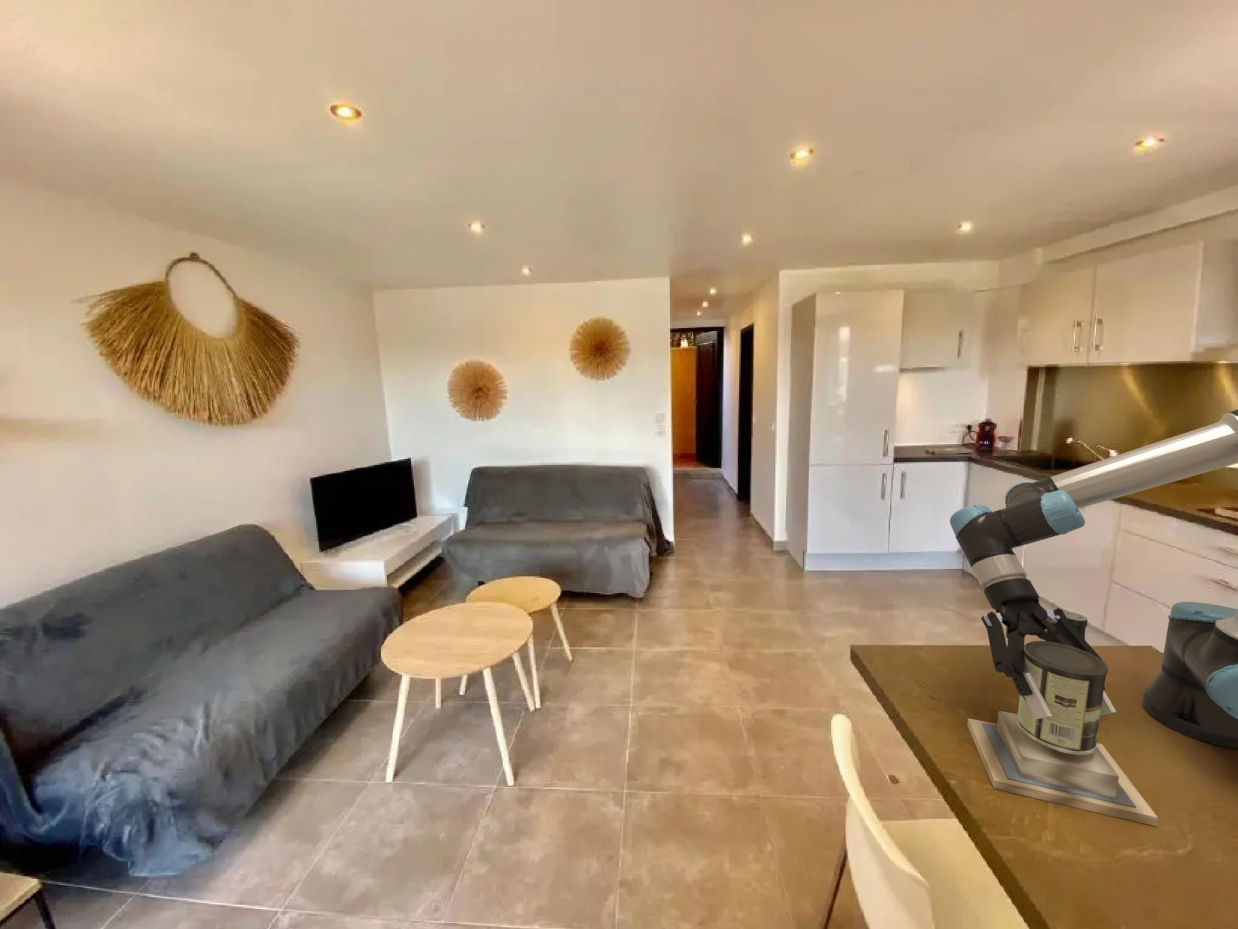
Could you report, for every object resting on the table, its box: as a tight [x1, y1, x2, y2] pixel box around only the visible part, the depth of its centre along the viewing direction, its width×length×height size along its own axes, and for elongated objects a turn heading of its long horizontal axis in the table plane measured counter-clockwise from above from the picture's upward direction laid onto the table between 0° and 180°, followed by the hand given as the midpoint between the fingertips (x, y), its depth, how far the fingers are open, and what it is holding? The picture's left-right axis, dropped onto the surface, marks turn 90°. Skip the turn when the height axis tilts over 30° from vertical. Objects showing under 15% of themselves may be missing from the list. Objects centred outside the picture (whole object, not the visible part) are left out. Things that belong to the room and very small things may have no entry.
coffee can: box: [1016, 640, 1109, 755], centre depth 82 cm, size 10×10×14 cm
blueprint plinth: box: [967, 710, 1159, 827], centre depth 84 cm, size 20×16×6 cm
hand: (1075, 715), depth 79 cm, fingers closed on coffee can, 10 cm apart
